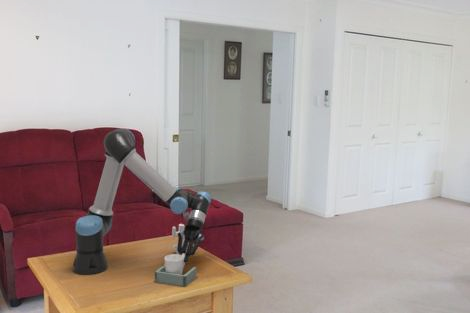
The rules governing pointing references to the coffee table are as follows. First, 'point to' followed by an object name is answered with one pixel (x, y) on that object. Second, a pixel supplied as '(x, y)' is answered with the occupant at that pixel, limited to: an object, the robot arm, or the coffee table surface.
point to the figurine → (175, 234)
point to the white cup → (174, 264)
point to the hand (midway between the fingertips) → (180, 268)
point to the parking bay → (174, 277)
